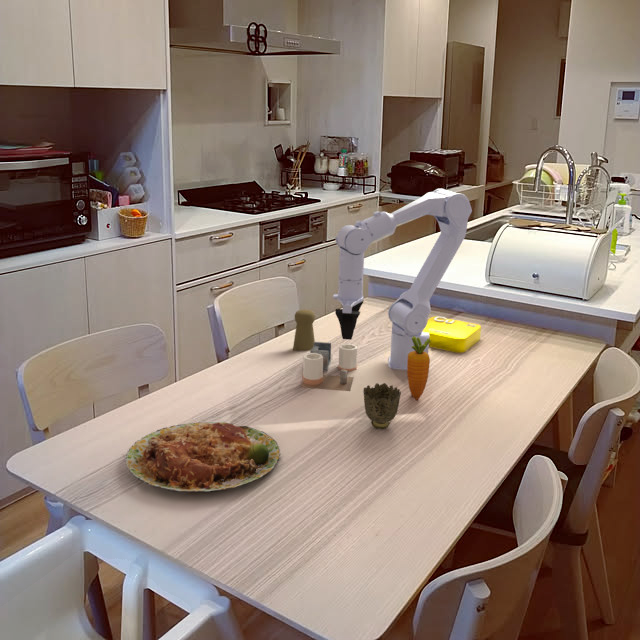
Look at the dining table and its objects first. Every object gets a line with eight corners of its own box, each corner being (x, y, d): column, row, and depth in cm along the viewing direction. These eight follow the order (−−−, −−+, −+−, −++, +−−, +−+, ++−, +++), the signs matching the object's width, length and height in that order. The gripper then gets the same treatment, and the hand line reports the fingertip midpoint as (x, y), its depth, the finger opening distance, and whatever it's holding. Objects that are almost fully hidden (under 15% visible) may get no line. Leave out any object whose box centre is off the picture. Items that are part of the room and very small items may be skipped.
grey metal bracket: (358, 367, 173) (359, 344, 172) (356, 377, 168) (357, 353, 166) (313, 364, 175) (314, 341, 173) (309, 373, 169) (310, 350, 167)
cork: (315, 355, 181) (316, 314, 177) (291, 354, 181) (292, 313, 178) (316, 347, 187) (317, 307, 183) (293, 346, 187) (293, 306, 183)
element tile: (410, 343, 192) (411, 327, 191) (432, 329, 204) (433, 313, 203) (462, 355, 185) (464, 337, 183) (482, 339, 197) (483, 323, 195)
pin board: (353, 381, 165) (354, 365, 164) (350, 395, 157) (350, 378, 156) (306, 378, 166) (307, 361, 165) (301, 392, 159) (301, 374, 158)
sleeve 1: (320, 376, 164) (320, 352, 163) (324, 384, 160) (324, 359, 159) (301, 377, 164) (301, 353, 162) (305, 385, 159) (305, 360, 158)
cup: (374, 437, 139) (375, 400, 136) (355, 422, 145) (356, 386, 142) (405, 430, 142) (408, 393, 139) (385, 415, 148) (387, 380, 146)
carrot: (429, 398, 157) (434, 334, 152) (423, 407, 152) (428, 341, 148) (408, 394, 159) (412, 331, 154) (401, 402, 154) (405, 338, 150)
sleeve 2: (357, 367, 173) (358, 344, 171) (355, 374, 168) (356, 350, 167) (339, 366, 173) (340, 343, 171) (337, 372, 169) (338, 349, 167)
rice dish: (195, 419, 148) (194, 395, 146) (309, 448, 134) (308, 422, 133) (92, 478, 125) (89, 450, 123) (216, 521, 111) (214, 490, 110)
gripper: (337, 269, 171) (335, 323, 175) (329, 285, 157) (328, 342, 162) (366, 271, 170) (364, 324, 174) (361, 286, 156) (359, 344, 161)
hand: (348, 333), depth 168 cm, fingers open, 7 cm apart
